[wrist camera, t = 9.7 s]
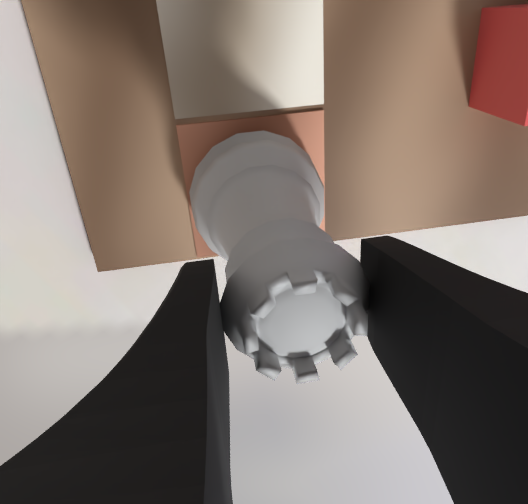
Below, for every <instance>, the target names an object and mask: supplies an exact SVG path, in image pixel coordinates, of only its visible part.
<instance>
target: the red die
mask: <svg viewBox="0 0 528 504" xmlns="http://www.w3.org/2000/svg"><path fill="white" fill-rule="evenodd" d="M468 107H471V108H474V109H477V110H479V111H482V112H485V113H488V114H491V115H494V116H497V117H499V118H502V119H505V120H508V121H511V122H514V123H516V124H519V125H522V126H528V4H520V5H508V6H496V7H485V8H482V11H481V19H480V26H479V33H478V41H477V48H476V55H475V62H474V70H473V77H472V84H471V92H470V99H469V106H468Z"/></svg>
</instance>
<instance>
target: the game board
mask: <svg viewBox="0 0 528 504" xmlns="http://www.w3.org/2000/svg"><path fill="white" fill-rule="evenodd" d="M21 2H22V5H23V9H24V12H25V16H26V19H27V23H28V26H29V30H30V33H31V37H32V40H33V44H34V48H35V51H36V55H37V58H38V62H39V65H40V69H41V72H42V76H43V79H44V83H45V86H46V90H47V93H48V97H49V101H50V104H51V108H52V111H53V115H54V118H55V122H56V125H57V129H58V132H59V136H60V139H61V143H62V146H63V150H64V153H65V157H66V161H67V164H68V168H69V171H70V175H71V178H72V182H73V185H74V189H75V192H76V196H77V199H78V203H79V206H80V210H81V214H82V217H83V221H84V224H85V228H86V231H87V235H88V238H89V242H90V245H91V249H92V252H93V256H94V259H95V263H96V267H97V270H98V272H101V271H109V270H117V269H124V268H132V267H139V266H147V265H155V264H162V263H170V262H177V261H185V260H193V259H200V258H208V257H215V256H219V255H218V254H216V253H215V252H213V251H212V250H211V249H210V248H209V247H208V245H207V244H206V242H205V241H204V239H203V238H202V236H201V235H200V233H199V232H198V230H197V228H196V227H195V221H194V217H193V213H192V207H191V200H190V194H189V192H190V188H191V184H192V180H193V177H194V173H195V169H196V167H197V166H198V165H199V163H200V162H201V161H202V159H203V158H204V157H205V156H206V154H207V153H208V152H209V151H210V149H211V148H212V147H213V146H215V145H217V144H219V143H220V142H222V141H224V140H226V139H228V138H230V137H231V136H233V135H235V134H237V133H246V132H255V131H268V132H271V133H274V134H278V135H281V136H284V137H287V138H290V139H291V140H292V141H294V142H295V143H296V144H297V145H298V146H299V147H301V148H302V149H303V150H304V151H305V152H306V153H308V154H309V156H310V158H311V160H312V162H313V164H314V166H315V168H316V170H317V172H318V174H319V177H320V179H321V181H322V183H323V185H324V217H323V219H322V222H321V224H320V227H319V228H321V229H322V230H323V231H324V232H326V233H327V234H328V235H330V236H331V238H332V240H333V241H337V240H344V239H352V238H360V237H367V236H375V235H382V234H390V233H398V232H405V231H413V230H420V229H428V228H436V227H443V226H451V225H458V224H466V223H474V222H481V221H489V220H496V219H504V218H512V217H519V216H527V215H528V126H522V125H519V124H516V123H514V122H511V121H508V120H505V119H502V118H499V117H497V116H494V115H491V114H488V113H485V112H482V111H479V110H477V109H474V108H471V107H468V106H469V99H470V92H471V84H472V77H473V70H474V62H475V55H476V48H477V41H478V33H479V26H480V19H481V11H482V8H485V7H496V6H508V5H520V4H528V0H21Z"/></svg>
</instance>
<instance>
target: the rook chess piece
mask: <svg viewBox="0 0 528 504" xmlns="http://www.w3.org/2000/svg"><path fill="white" fill-rule="evenodd" d="M189 194H190V200H191V207H192V213H193V217H194V221H195V227H196V228H197V230H198V232H199V233H200V235H201V236H202V238H203V239H204V241H205V242H206V244H207V245H208V247H209V248H210V249H211V250H212V251H213V252H215V253H216V254H218V255H219V256H221V257H222V258H224V259H225V260H227V261H228V262H227V265H226V268H225V273H226V281H227V284H226V287H225V290H224V293H223V296H222V299H221V302H220V311H221V319H222V326H223V331H224V332H225V333H226V335H227V336H228V338H229V339H230V341H231V342H232V343H233V345H234V346H235V348H236V349H237V350H239V351H240V352H242V353H244V354H246V355H247V356H249V357H251V358H253V359H254V361H255V367H256V370H257V371H258V372H260V373H262V374H264V375H265V376H267V377H269V378H271V379H272V380H275V379H276V377H277V376H278V375H279V373H280V372H281V367H284V368H290V369H292V370H293V374H294V377H295V380H296V384H299V383H305V382H312V381H318V380H319V376H318V373H317V369H316V367H315V365H316V364H318V363H320V362H322V361H324V360H326V359H328V358H330V357H331V358H332V360H333V362H334V363H335V364H336V365H337V366H338V367H339V369H343V368H344V367H345V366H346V365H347V364H348V363H349V362H350V361H351V360H352V359H353V358H354V357H355V356H356V355H357V352H356V350H355V348H354V346H353V344H352V342H351V339H352V337H353V336H354V335H363V336H364V335H365V336H367V331H368V314H367V313H366V312H367V310H368V308H369V286H370V284H369V281H368V279H367V277H366V275H365V273H364V270H363V268H362V266H361V264H360V262H359V261H358V260H357V259H356V258H354V257H353V256H352V255H351V254H349V253H348V252H347V251H345V250H344V249H343V248H342V247H340V246H339V245H337V244H334V242H333V240H332V238H331V236H330V235H328V234H327V233H326V232H324V231H323V230H322V229H321V228H319V227H320V224H321V222H322V219H323V217H324V185H323V183H322V181H321V179H320V177H319V174H318V172H317V170H316V168H315V166H314V164H313V162H312V160H311V158H310V156H309V154H308V153H306V152H305V151H304V150H303V149H302V148H301V147H299V146H298V145H297V144H296V143H295V142H294V141H292V140H291V139H290V138H287V137H284V136H281V135H278V134H274V133H271V132H268V131H255V132H246V133H237V134H235V135H233V136H231V137H230V138H228V139H226V140H224V141H222V142H220V143H219V144H217V145H215V146H213V147H212V148H211V149H210V151H209V152H208V153H207V154H206V156H205V157H204V158H203V159H202V161H201V162H200V163H199V165H198V166H197V167H196V169H195V173H194V177H193V180H192V184H191V188H190V192H189Z"/></svg>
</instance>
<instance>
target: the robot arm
mask: <svg viewBox="0 0 528 504" xmlns="http://www.w3.org/2000/svg"><path fill="white" fill-rule="evenodd" d="M360 264H361V266H362V268H363V270H364V273H365V275H366V277H367V279H368V281H369V284H370V286H369V308H368V310H367V312H366V313H367V314H368V331H367V336H368V339H369V341H370V344H371V346H372V349H373V351H374V353H375V354H376V356H377V358H378V360H379V361H380V363H381V365H382V367H383V368H384V370H385V372H386V374H387V375H388V377H389V379H390V380H391V382H392V384H393V386H394V387H395V389H396V391H397V393H398V394H399V396H400V398H401V399H402V401H403V403H404V405H405V406H406V408H407V410H408V412H409V413H410V415H411V417H412V418H413V420H414V422H415V424H416V425H417V427H418V428H419V430H420V432H421V434H422V436H423V438H424V440H425V442H426V444H427V445H428V447H429V449H430V451H431V453H432V455H433V458H434V460H435V462H436V464H437V466H438V469H439V471H440V473H441V475H442V478H443V480H444V482H445V484H446V486H447V489H448V491H449V493H450V495H451V498H452V500H453V502H454V504H528V293H526V292H523V291H520V290H517V289H514V288H512V287H509V286H507V285H504V284H501V283H499V282H496V281H494V280H491V279H488V278H486V277H483V276H481V275H479V274H476V273H474V272H471V271H469V270H467V269H464V268H462V267H460V266H457V265H455V264H453V263H451V262H448V261H446V260H444V259H442V258H440V257H437V256H435V255H433V254H431V253H428V252H426V251H424V250H422V249H420V248H417V247H415V246H413V245H411V244H408V243H406V242H404V241H401V240H399V239H396V238H393V237H390V236H381V237H374V238H366V239H361V259H360ZM229 419H230V416H229V369H228V361H227V353H226V345H225V337H224V331H223V326H222V319H221V311H220V301H219V294H218V287H217V280H216V273H215V266H214V259H210V260H202V261H195V262H187V263H185V264H184V265H183V266H182V267H181V269H180V271H179V274H178V276H177V278H176V280H175V282H174V283H173V285H172V287H171V289H170V291H169V292H168V294H167V296H166V298H165V299H164V301H163V302H162V304H161V306H160V307H159V309H158V310H157V312H156V314H155V315H154V317H153V318H152V320H151V321H150V322H149V324H148V325H147V327H146V328H145V329H144V331H143V332H142V333H141V335H140V336H139V337H138V339H137V340H136V342H135V343H134V344H133V346H132V347H131V348H130V350H129V351H128V352H127V353H126V354H125V356H124V357H123V358H122V359H121V360H120V361H119V362H118V364H117V365H116V366H115V367H114V368H113V369H112V370H111V371H110V372H109V374H108V375H107V376H106V377H105V378H104V379H103V380H102V381H101V382H100V383H99V384H98V385H97V386H96V387H95V388H94V389H92V390H91V391H90V392H89V393H88V394H87V395H86V396H85V397H84V398H83V399H82V400H81V401H80V402H78V403H77V404H76V405H75V406H74V407H73V408H72V409H71V410H70V411H69V412H68V413H67V414H66V415H64V416H63V417H62V418H61V419H60V420H59V421H58V422H56V423H55V424H54V425H53V426H52V427H50V428H49V429H48V430H46V431H45V432H44V433H43V434H42V435H40V436H39V437H38V438H37V439H36V440H34V441H33V442H31V443H30V444H29V445H28V446H26V447H25V448H24V449H22V450H21V451H20V452H19V453H17V454H16V455H15V456H13V457H12V458H11V459H9V460H8V461H7V462H5V463H4V464H3V465H1V466H0V504H233V502H232V491H231V477H230V476H231V475H230V424H229V423H230V421H229Z"/></svg>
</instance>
